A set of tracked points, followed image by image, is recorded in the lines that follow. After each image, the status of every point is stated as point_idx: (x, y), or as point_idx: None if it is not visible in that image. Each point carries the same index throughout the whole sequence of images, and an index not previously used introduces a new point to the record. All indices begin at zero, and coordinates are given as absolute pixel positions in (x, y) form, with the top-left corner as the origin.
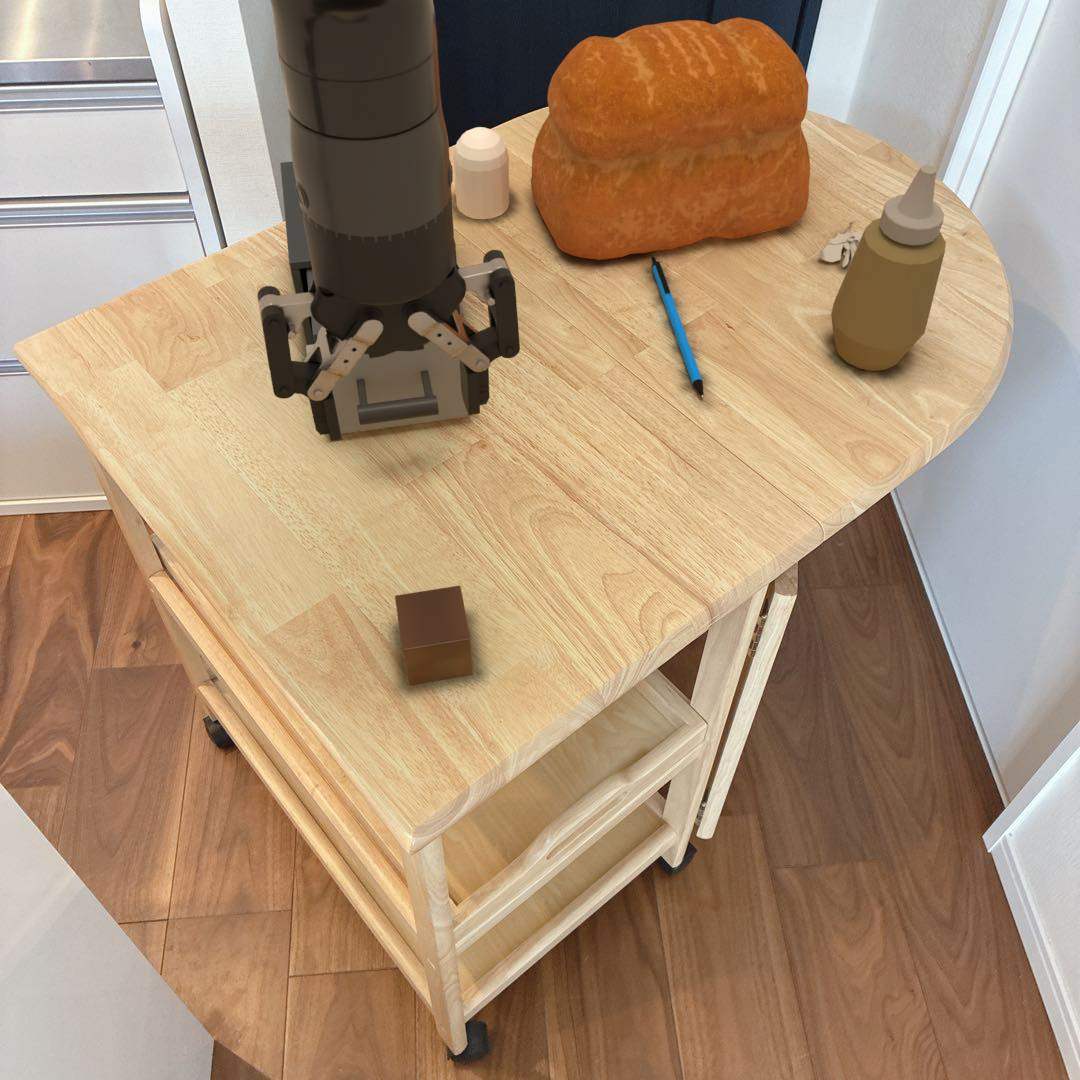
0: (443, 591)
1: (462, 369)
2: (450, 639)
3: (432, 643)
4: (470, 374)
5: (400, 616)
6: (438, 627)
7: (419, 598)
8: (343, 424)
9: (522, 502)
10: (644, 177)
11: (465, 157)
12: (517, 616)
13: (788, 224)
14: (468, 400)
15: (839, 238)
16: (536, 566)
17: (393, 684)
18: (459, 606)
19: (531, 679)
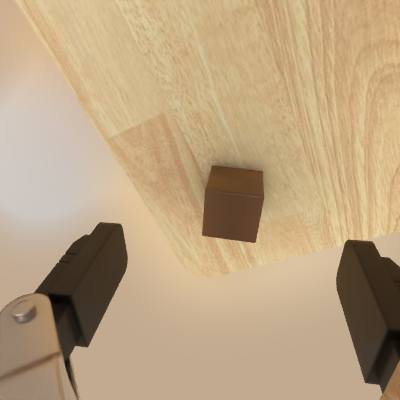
0: (247, 198)
1: (368, 318)
2: (240, 238)
3: (225, 237)
4: (371, 382)
5: (206, 209)
6: (233, 226)
7: (225, 198)
8: None
9: (377, 48)
10: None
11: None
12: (307, 179)
13: None
14: (345, 314)
15: None
16: (348, 136)
17: (198, 203)
18: (256, 215)
19: (294, 228)
